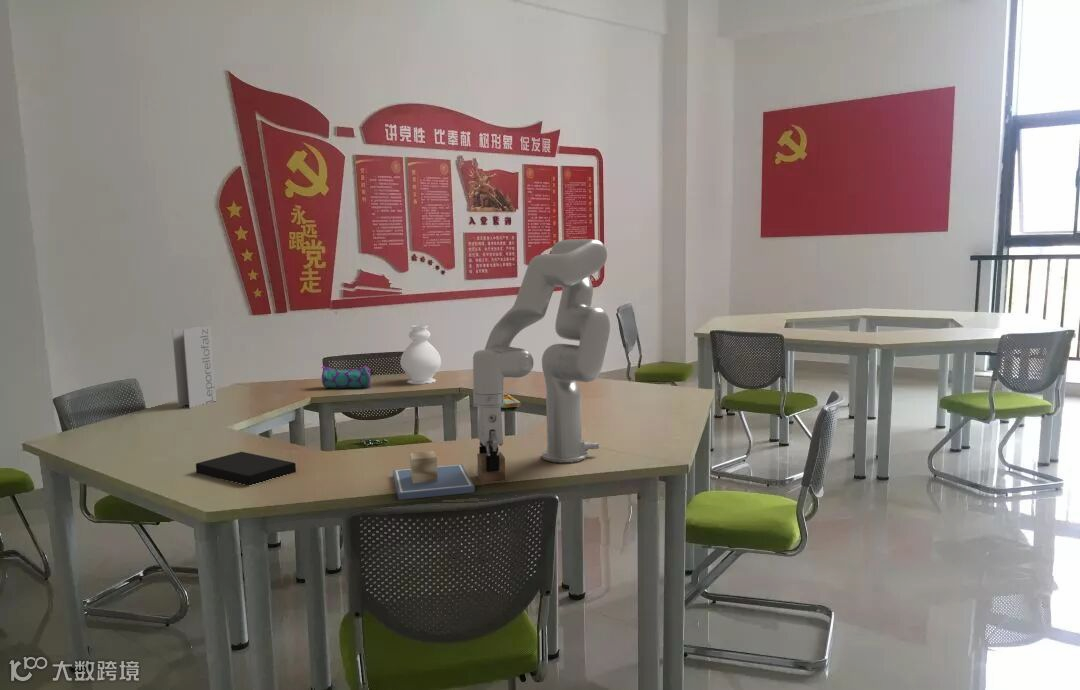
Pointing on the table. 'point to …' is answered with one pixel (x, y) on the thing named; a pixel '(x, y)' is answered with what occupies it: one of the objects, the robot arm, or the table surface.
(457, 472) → the blueprint board
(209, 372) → the brochure
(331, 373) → the pencil case
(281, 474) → the external hard drive
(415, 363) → the decorative vase
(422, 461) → the maple base block
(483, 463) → the walnut block
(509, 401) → the puzzle game
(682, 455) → the table surface
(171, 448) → the table surface
